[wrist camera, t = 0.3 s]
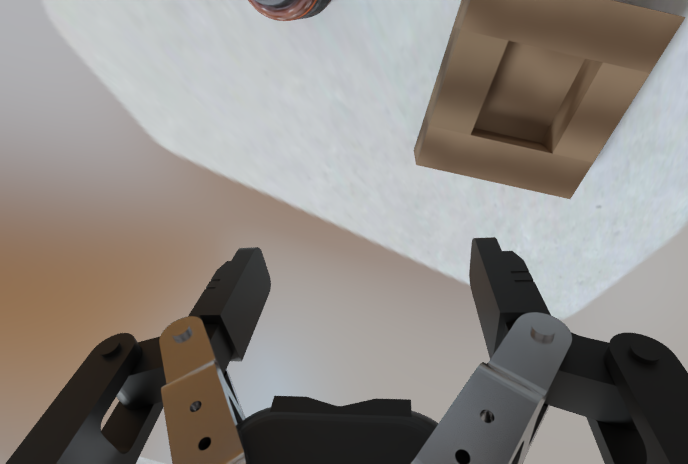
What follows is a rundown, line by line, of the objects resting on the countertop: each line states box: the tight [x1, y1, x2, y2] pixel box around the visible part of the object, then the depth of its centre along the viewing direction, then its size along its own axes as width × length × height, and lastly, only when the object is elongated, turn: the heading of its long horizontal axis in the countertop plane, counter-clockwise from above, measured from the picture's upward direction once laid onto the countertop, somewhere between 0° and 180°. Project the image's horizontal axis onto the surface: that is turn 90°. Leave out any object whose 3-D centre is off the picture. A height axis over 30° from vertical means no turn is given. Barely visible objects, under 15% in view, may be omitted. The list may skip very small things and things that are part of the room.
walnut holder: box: [414, 0, 685, 199], centre depth 33 cm, size 16×16×4 cm
